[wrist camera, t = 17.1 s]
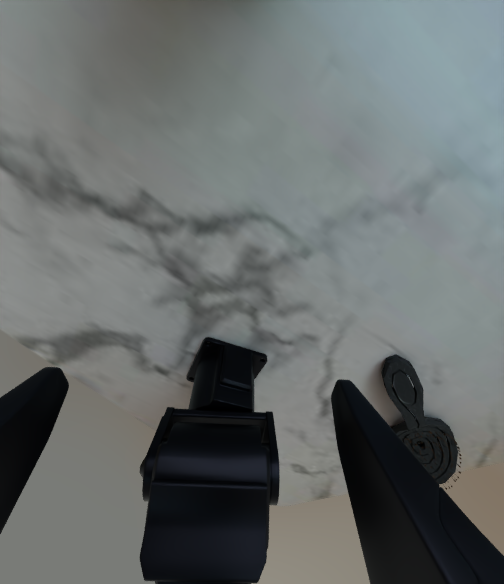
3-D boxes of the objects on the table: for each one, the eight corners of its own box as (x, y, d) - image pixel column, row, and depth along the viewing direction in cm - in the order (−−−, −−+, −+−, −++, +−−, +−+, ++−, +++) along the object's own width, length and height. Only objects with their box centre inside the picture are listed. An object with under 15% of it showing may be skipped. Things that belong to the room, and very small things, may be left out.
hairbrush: (453, 365, 24) (473, 487, 36) (431, 336, 27) (456, 457, 39) (357, 391, 26) (406, 497, 38) (347, 361, 29) (395, 468, 41)
